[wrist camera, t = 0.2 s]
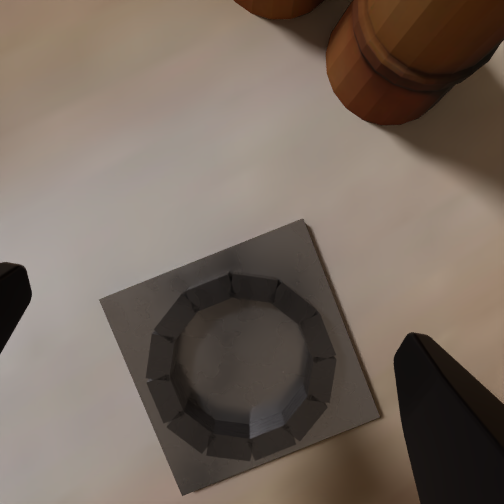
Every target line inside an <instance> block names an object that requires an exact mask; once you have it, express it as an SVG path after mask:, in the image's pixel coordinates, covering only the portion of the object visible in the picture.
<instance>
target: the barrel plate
mask: <svg viewBox="0 0 504 504" xmlns="http://www.w3.org/2000/svg"><path fill="white" fill-rule="evenodd" d="M99 301H100V303H101V305H102V308H103V310H104V312H105V315H106V317H107V319H108V322H109V324H110V327H111V329H112V331H113V334H114V336H115V338H116V341H117V343H118V345H119V348H120V350H121V352H122V355H123V357H124V360H125V362H126V364H127V367H128V369H129V371H130V374H131V376H132V378H133V381H134V383H135V386H136V388H137V390H138V393H139V395H140V397H141V400H142V402H143V404H144V407H145V409H146V412H147V414H148V416H149V419H150V421H151V423H152V426H153V428H154V430H155V433H156V435H157V438H158V440H159V442H160V445H161V447H162V449H163V452H164V454H165V456H166V459H167V461H168V463H169V466H170V468H171V471H172V473H173V475H174V478H175V480H176V482H177V485H178V487H179V489H180V492H181V494H182V496H183V495H186V494H188V493H191V492H193V491H196V490H199V489H201V488H204V487H206V486H209V485H211V484H214V483H216V482H219V481H221V480H224V479H226V478H229V477H231V476H234V475H236V474H239V473H241V472H244V471H246V470H249V469H251V468H254V467H256V466H259V465H261V464H264V463H266V462H269V461H271V460H274V459H276V458H279V457H281V456H284V455H286V454H289V453H291V452H294V451H296V450H299V449H301V448H304V447H306V446H309V445H311V444H314V443H316V442H319V441H321V440H324V439H326V438H329V437H331V436H334V435H336V434H339V433H342V432H344V431H347V430H349V429H352V428H354V427H357V426H359V425H362V424H364V423H367V422H369V421H372V420H374V419H377V418H379V417H380V416H379V413H378V410H377V408H376V405H375V403H374V400H373V398H372V395H371V392H370V390H369V387H368V385H367V382H366V379H365V377H364V374H363V372H362V369H361V367H360V364H359V361H358V359H357V356H356V354H355V351H354V348H353V346H352V343H351V341H350V338H349V336H348V333H347V330H346V328H345V325H344V323H343V320H342V317H341V315H340V312H339V310H338V307H337V305H336V302H335V299H334V297H333V294H332V292H331V289H330V287H329V284H328V281H327V279H326V276H325V274H324V271H323V268H322V266H321V263H320V261H319V258H318V256H317V253H316V250H315V248H314V245H313V243H312V240H311V237H310V235H309V232H308V230H307V227H306V225H305V222H304V219H300V220H298V221H295V222H293V223H290V224H288V225H285V226H283V227H280V228H278V229H275V230H273V231H270V232H268V233H265V234H263V235H260V236H258V237H255V238H253V239H250V240H248V241H245V242H242V243H240V244H237V245H235V246H232V247H230V248H227V249H225V250H222V251H220V252H217V253H215V254H212V255H210V256H207V257H205V258H202V259H200V260H197V261H195V262H192V263H190V264H187V265H185V266H182V267H180V268H177V269H174V270H172V271H169V272H167V273H164V274H162V275H159V276H157V277H154V278H152V279H149V280H147V281H144V282H142V283H139V284H137V285H134V286H132V287H129V288H127V289H124V290H122V291H119V292H117V293H114V294H112V295H109V296H107V297H104V298H102V299H99Z"/></svg>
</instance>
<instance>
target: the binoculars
mask: <svg viewBox="0 0 504 504" xmlns="http://www.w3.org/2000/svg"><path fill="white" fill-rule="evenodd" d="M234 1H235V2H236V3H237V4H239V5H240V6H242V7H243V8H245V9H246V10H247V11H249V12H250V13H252V14H255V15H258V16H261V17H265V18H268V19H271V20H272V19H293V18H296V17H298V16H301V15H304V14H307V13H309V12H311V11H312V10H313V9H315V8H316V7H317V6H318V5H320V4H321V3H322V2H323V1H325V0H234ZM503 40H504V0H353V1H352V2H351V4H350V5H349V7H348V8H347V10H346V11H345V13H344V14H343V16H342V17H341V19H340V20H339V22H338V23H337V25H336V26H335V28H334V30H333V31H332V33H331V35H330V39H329V43H328V47H327V50H326V68H327V75H328V78H329V81H330V83H331V86H332V89H333V92H334V93H335V94H336V96H337V97H338V98H339V100H340V101H341V102H342V104H343V105H344V106H345V108H347V109H348V110H349V111H351V112H352V113H354V114H355V115H357V116H358V117H359V118H361V119H362V120H366V121H369V122H372V123H376V124H379V125H401V124H404V123H406V122H409V121H412V120H415V119H417V118H419V117H421V116H422V115H423V114H424V113H426V112H427V111H428V110H430V109H431V108H432V107H433V106H434V105H435V104H436V103H437V102H438V101H439V100H440V99H441V98H442V97H443V96H444V95H445V94H446V93H447V92H448V91H449V90H450V89H451V88H452V87H453V86H454V85H455V84H458V83H461V82H462V81H463V80H465V79H466V78H468V77H469V76H470V75H472V74H473V73H474V72H475V71H477V70H478V69H479V68H481V67H482V66H483V65H484V64H486V63H487V62H488V61H489V60H490V59H491V57H492V56H493V54H494V53H495V51H496V50H497V48H498V47H499V45H500V44H501V42H502V41H503Z"/></svg>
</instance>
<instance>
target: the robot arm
mask: <svg viewBox="0 0 504 504" xmlns="http://www.w3.org/2000/svg"><path fill="white" fill-rule="evenodd" d="M31 297H32V291H31V287H30V283H29V279H28V275H27V271H26V268H25V267H24V266H23V265H20V264H14V263H9V262H2V263H0V354H1V352H2V350H3V348H4V347H5V345H6V343H7V341H8V340H9V338H10V336H11V335H12V333H13V331H14V329H15V328H16V326H17V324H18V322H19V321H20V319H21V317H22V315H23V314H24V312H25V310H26V308H27V307H28V305H29V303H30V301H31ZM394 371H395V378H396V386H397V393H398V401H399V409H400V416H401V422H402V428H403V432H404V437H405V441H406V445H407V450H408V454H409V458H410V462H411V466H412V470H413V475H414V479H415V483H416V487H417V491H418V495H419V500H420V504H504V404H503V403H502V402H501V401H500V400H499V399H497V398H496V397H495V396H494V395H493V394H492V393H491V392H490V391H489V390H488V389H487V388H485V387H484V386H483V385H482V384H481V383H480V382H479V381H478V380H477V379H476V378H475V377H473V376H472V375H471V374H470V373H469V372H468V371H467V370H466V369H465V368H464V367H462V366H461V365H460V364H459V363H458V362H457V361H456V360H455V359H454V358H453V357H452V356H450V355H449V354H448V353H447V352H446V351H445V350H444V349H443V348H442V347H441V346H439V345H438V344H437V343H436V342H435V341H434V340H433V339H432V338H431V337H429V336H428V335H425V334H420V333H414V332H411V333H409V334H407V336H406V337H405V339H404V340H403V342H402V344H401V345H400V347H399V349H398V350H397V352H396V354H395V356H394Z"/></svg>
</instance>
